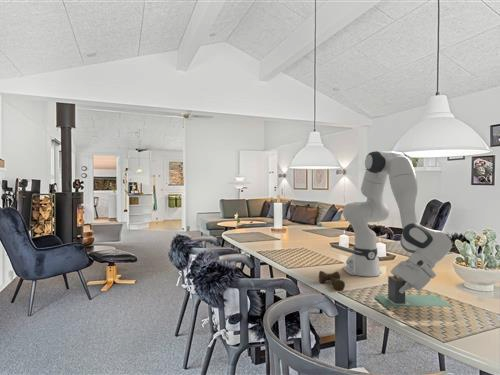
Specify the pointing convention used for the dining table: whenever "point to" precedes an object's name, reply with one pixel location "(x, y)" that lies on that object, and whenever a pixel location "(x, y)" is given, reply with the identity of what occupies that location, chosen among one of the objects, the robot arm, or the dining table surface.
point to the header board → (413, 301)
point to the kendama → (334, 278)
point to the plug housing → (395, 289)
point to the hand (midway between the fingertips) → (394, 288)
